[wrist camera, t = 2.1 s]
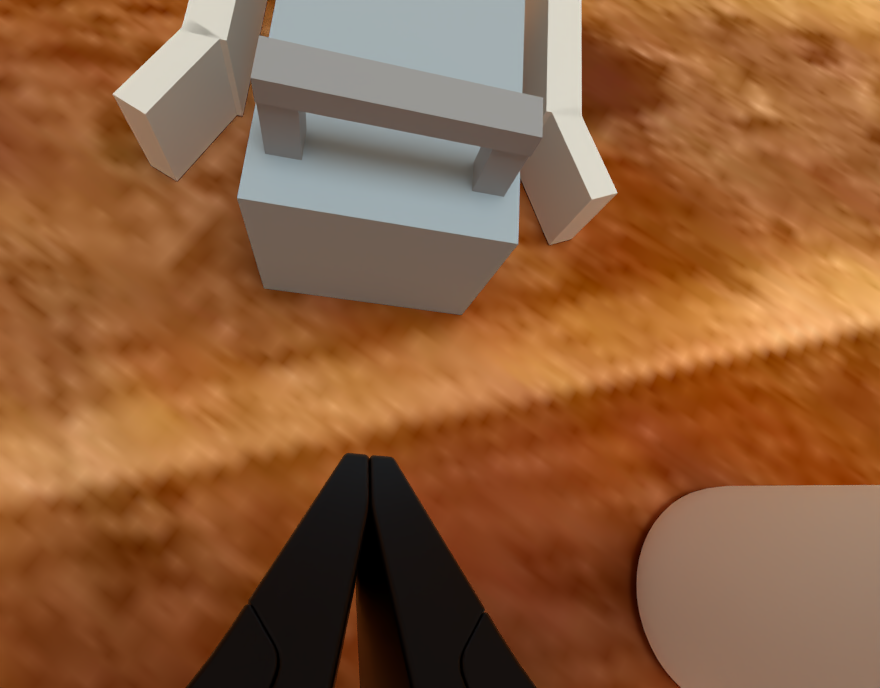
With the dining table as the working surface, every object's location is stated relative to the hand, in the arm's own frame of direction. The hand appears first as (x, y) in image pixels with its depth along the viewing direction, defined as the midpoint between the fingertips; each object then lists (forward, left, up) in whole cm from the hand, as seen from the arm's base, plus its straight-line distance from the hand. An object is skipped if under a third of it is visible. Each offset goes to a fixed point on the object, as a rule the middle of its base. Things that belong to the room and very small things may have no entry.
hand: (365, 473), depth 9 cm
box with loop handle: (+11, +9, -11) cm, 18 cm away
